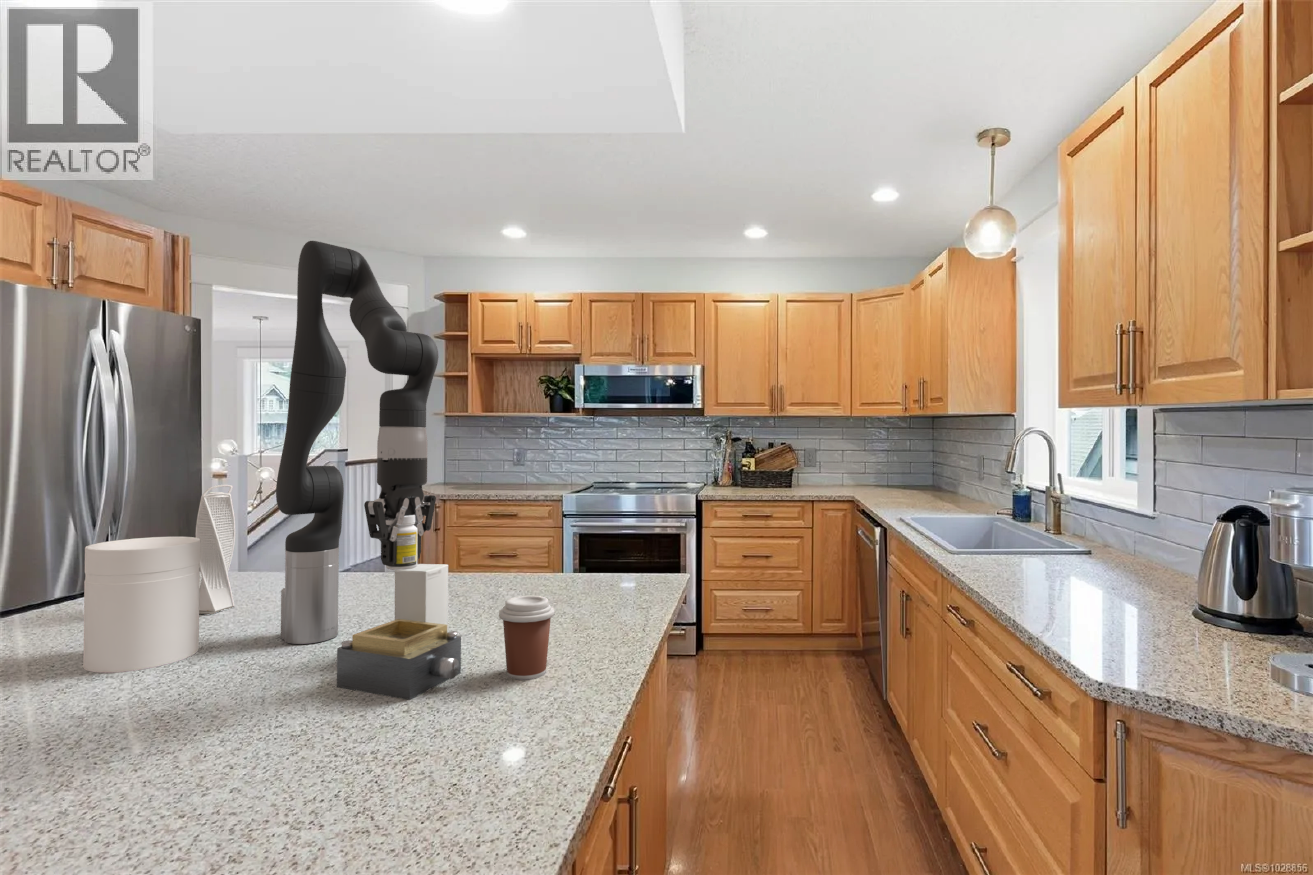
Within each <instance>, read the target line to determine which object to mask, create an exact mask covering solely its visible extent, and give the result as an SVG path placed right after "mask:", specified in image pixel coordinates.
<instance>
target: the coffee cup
mask: <svg viewBox="0 0 1313 875" xmlns="http://www.w3.org/2000/svg"><path fill="white" fill-rule="evenodd" d="M504 602H505V605H504V606H503V607H502V608H501V609H500V610H499V611H498V617H499V619H500V620H502V624H503V636H504V637H503V638H504V649H505V664H506V666H505V667H506V676H507V677H508V678H509V679H512V680H521V681H527V680H534V679H538V678H541V677H543V676H544V675H545V674H547V662H548V651H549V641H550V629H551V619H552V618H553V617H554V616H555V614H556V612H555V608H554V606H551V604H550V603H549V599H548V598H547V597H545V596H542V595H541V596H540V595H532V594H531V595H518V596H513V597H510V598H507V599H506V600H505V601H504Z"/></svg>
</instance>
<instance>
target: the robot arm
mask: <svg viewBox="0 0 1313 875" xmlns="http://www.w3.org/2000/svg"><path fill="white" fill-rule="evenodd" d="M297 266H298V267H297V284H296V286H297V288H296V290H297V294H296V296H297V297H296V303H297V304H296V326H295V327H296V328H295V337H294V338H295V339H294V345H293V346H294V347H293V355H292V364H291V368H290V369H291V371H290V379H289V388H288V389H289V393H288V406H287V416H286V417H287V418H286V428H285V433H284V434H285V436H284V440H283V447H282V451H281V457H280V462H279V467H278V472H277V477H276V478H277V479H276V488H275V498H276V499H275V500H276V504H277V507H278V509H279V511H280V513H282V514H284V515H287V516H294V515H310V514H311V515H312V514H313V518H312V520H311V521H310V522H308V523H307V525H305V526H304V527H302V528H300V529H298V530H295V531H293V532H291V533H289V534H287V535H286V537H285V544H284V545H285V546H284V547H285V549H284V550H285V558H284V559H285V561H284V562H285V563H284V564H285V565H284V567H285V568H284V571H285V572H284V575H285V576H284V578H285V579H284V588H282V589H281V591H280V639H282V640H284V642H285V643H288V644H295V645H303V644H314V643H315V644H316V643H319V642H320V643H321V642H325V641H328V640H331V639H334V638H336V637H337V636H338V634H339V589H340V588H339V585H340V584H339V581H340V580H339V577H340V575H339V572H340V571H339V570H340V565H339V564H340V560H339V559H340V557H339V556H340V553H339V552H340V549H339V546H340V537H341V533H342V525H343V524H342V523H343V521H342V520H343V508H344V497H345V496H344V480H343V475H342V473H341V472H340V470H339V469H338V468H337V467H336V466H333V465H308V460H309V456H310V453H311V451H312V450H311V449H312V448H313V445H314V444H315V441H316V439H317V438H318V436H319V435H320V434H321V432H322V431H323V430H324V429H325V427H326V426H327V425H328V424H329V422H330V421H331V420H332V419H333V418H334V416H335V415H336V413H337V412H338V411H339V409H340V408H341V406H342V404H343V400H344V394H345V387H346V377H347V367H346V363H345V360H344V357H343V356H342V353H341V351H340V350H339V347H338V345H337V344H336V342H335V340H334V339H333V336H332V334H331V333H330V330H329V328H328V326H327V323H326V320H325V316H324V309H323V308H324V307H323V295H327V296H330V297H331V296H333V297H337V298H344V299H345V298H347V299H348V298H349V299H352V300H351V303H350V305H349V318H350V320H351V322H352V324H353V326H354V327H355V330H357V332H358V333H359V334H360V335H361V337H362V338H363V339H364V342H365V347H366V351H367V352H366V354H367V360H368V362H369V364H370V366H371V367H372V368H374V369H375V371H378V372H379V373H383V374H386V375H394V376H395V375H397V376H408V377H407V381H406V383H405V384H404V386H403V387H402V388H396V389H391V390H390V389H389V390H386V391H383V392H382V393H381V395H380V397H379V420H378V422H379V425H378V426H379V427H378V436H377V440H376V441H377V446H376V448H377V450H376V452H377V453H376V456H377V457H376V462H377V463H376V483H377V485H378V486H380V488H381V489H380V494H379V495H378V498H376V499H374V500H366V501H364V504H363V505H364V512H365V517H366V523H367V528H368V534H369V537H370V538H371V539H376V540H379V541H380V561H381V562H382V565H383V566H386V565H390V566H392V565H395V564H396V562H397V541H395V540H396V537H397V533H398V529H399V527H401V526H402V523H403V519H404V516H408V515H415V524H414V526H416V527H417V530H418V536H417V560H419V559H420V557H421V554H422V537H423V535H424V533H425V532H426V531H429V532H430V530H431V528H432V525H433V524H432V522H433V517H434V513H435V512H434V511H435V506H436V500H437V497H436V495H434V494H433V495H432V494H431V495H430V494H425V493H424V491H423V486H424V485H426V484H427V482H428V434H427V404H428V398H429V394H430V391H431V386H432V383H433V379H434V377H435V372H436V370H437V366H438V362H439V349H438V346H437V344H436V342H435V340H434V339H433V338H432V337H431V336H429V335H428V334H425V333H421V332H420V333H419V332H412V331H411V332H409V331H407V330H408V328H407V325H406V322H405V320H404V319H403V318H402V316H401V315H400V314H399V313H398V311H397V310H396V309H395V308H394V307H393V305H391V303H389V301H388V300H387V299H386V297H385V295H384V294H383V291H382V290H381V288H380V285H379V283H378V281H377V279H376V278H377V277H376V276H375V275H374V273H373V270H372V268H371V266H370V264H369V262H368V261H367V260H366V258H365V257H364V255H363V254H361V253H360V252H358V251H357V250H354V249H351V248H347V247H342V246H340V245H335V244H330V243H326V242H322V241H317V240H308V241H307V242H305V244H304V245H302V248H301V251H300V254H299V258H298V265H297ZM424 517H425V520H424ZM389 518H390V519H395V520H393V521H391V520H389ZM423 521H424V522H423ZM390 526H391V529H390V533H389V532H388V528H389V527H390Z"/></svg>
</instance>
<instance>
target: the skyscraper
mask: <svg viewBox="0 0 1313 875" xmlns="http://www.w3.org/2000/svg"><path fill="white" fill-rule="evenodd" d="M224 487H225V488H229V489H228V492H223V491H213V492H209V491H212V490H215V489H218V488H224ZM233 488H234V486H233V485H231V484H218V485H217V484H216V485H213V486H211V487H209V488H207V489H206V490H205V491H204V492H203V493H202V495H201V497H200V501H199V507H198V512H197V517H196V522H195V524H196V525H195V538H199V539H200V563H199V570H200V577H201V580H200V583H199V614H212V615H215V614H217V613H216V612H218V613H220V612H219V611H221V610H224V609H228V610H230V609H229V608H231V609H233V608H232V607H234V608H235V601H234V596H233V592H232V587H231V583H230V578H229V571H230V566H231V563H232V560H233V555H234V549H235V544H236V518H235V511H234V505H233V504H234V503H233V500H232V494H231V493H232V491H233ZM221 612H222V611H221ZM214 613H215V614H214Z"/></svg>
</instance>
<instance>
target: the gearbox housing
mask: <svg viewBox="0 0 1313 875" xmlns="http://www.w3.org/2000/svg"><path fill="white" fill-rule="evenodd" d="M351 636H352V638H351V639H352V640H350V639H348V640H344V641H342V642H341V646H340V647H337V648H336V657H337V658H336V688H341V689H345V690H346V689H347V690H350V691H359V692H363V693H370V694H373V695H374V694H375V695H380V696H386V697H392V698H399V699H403V700H404V699H405V700H409V701H410V700H413V699H414V698H417V696H420V695H422V694H424V693H425V692H428V691H430V690H431V689H433V688H435V687H437V686H439V685H441V684H443V683H445V682H446V681H448V680H453V679H454V678H456V676H457V675H460V674H461V673H462V636H459V635H458V631H456V630H455V631H448V633H447V625H445V624H437V623H429V622H420V621H412V620H404V619H396V620H395V619H393V620H390V621H388V622H385V623H383V624H380V625H377V626H374V627H371V628H368V629H365V630H363V631H360V632H357V633H354V634H352V635H351Z"/></svg>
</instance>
